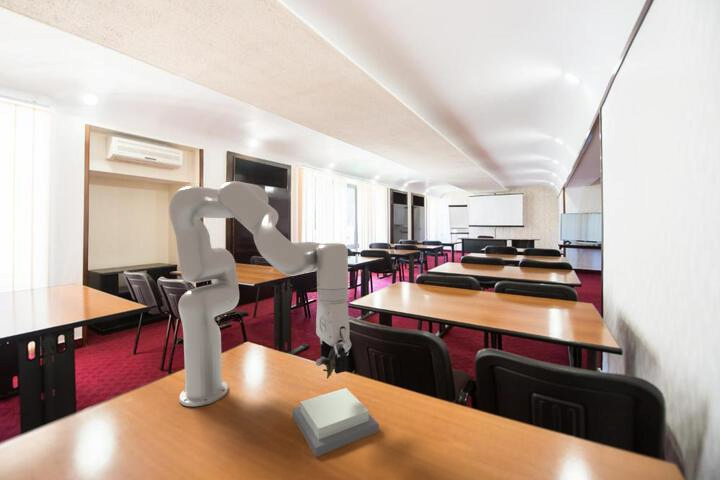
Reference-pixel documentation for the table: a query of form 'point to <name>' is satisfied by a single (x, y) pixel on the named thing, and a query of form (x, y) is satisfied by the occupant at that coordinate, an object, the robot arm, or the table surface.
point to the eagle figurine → (328, 361)
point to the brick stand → (333, 421)
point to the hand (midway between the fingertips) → (333, 364)
